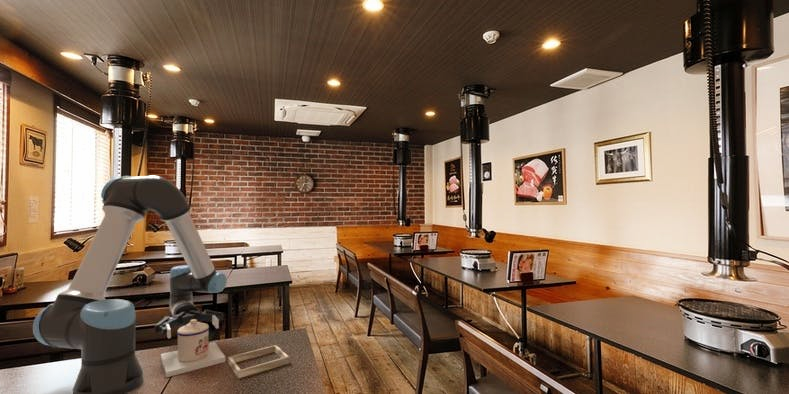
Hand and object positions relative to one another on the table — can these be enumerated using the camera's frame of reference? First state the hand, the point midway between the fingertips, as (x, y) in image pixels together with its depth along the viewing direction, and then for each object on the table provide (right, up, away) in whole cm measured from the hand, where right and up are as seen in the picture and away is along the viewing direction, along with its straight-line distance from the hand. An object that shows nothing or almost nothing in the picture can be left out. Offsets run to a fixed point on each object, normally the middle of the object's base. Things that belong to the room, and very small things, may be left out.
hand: (194, 328), depth 115 cm
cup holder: (+22, -10, -2) cm, 24 cm away
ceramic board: (-1, -10, +1) cm, 10 cm away
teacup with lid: (0, -9, +1) cm, 9 cm away
